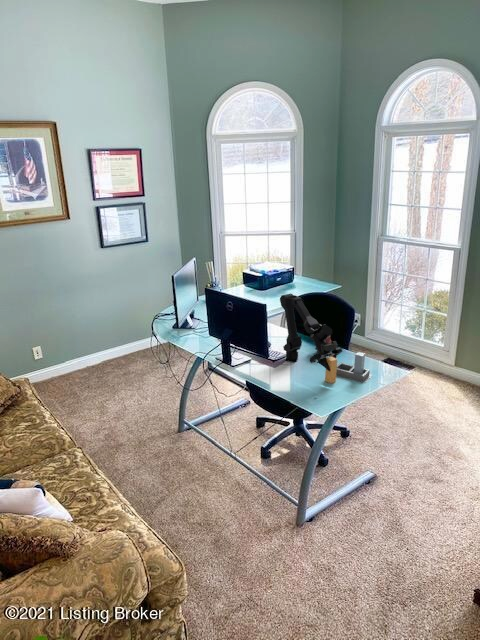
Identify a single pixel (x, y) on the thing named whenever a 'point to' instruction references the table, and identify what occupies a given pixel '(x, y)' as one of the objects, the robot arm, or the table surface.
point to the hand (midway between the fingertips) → (332, 369)
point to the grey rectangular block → (359, 363)
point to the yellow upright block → (331, 370)
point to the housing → (352, 373)
